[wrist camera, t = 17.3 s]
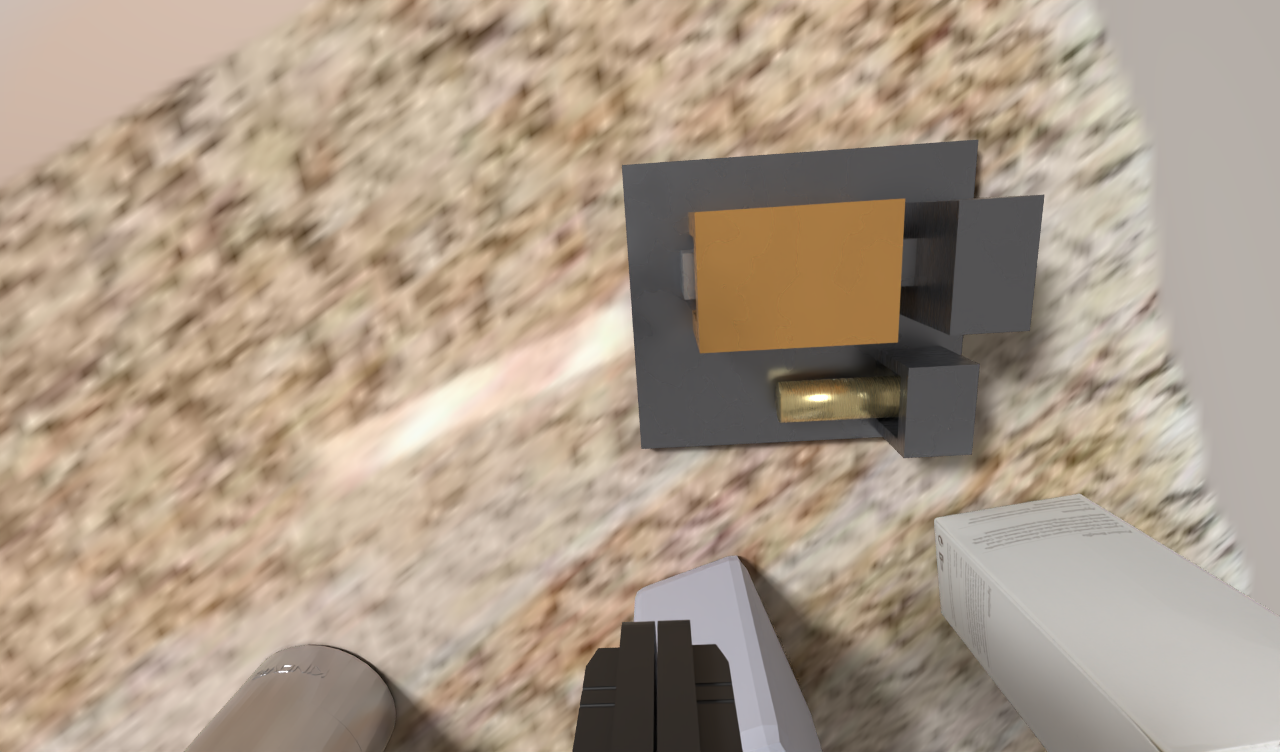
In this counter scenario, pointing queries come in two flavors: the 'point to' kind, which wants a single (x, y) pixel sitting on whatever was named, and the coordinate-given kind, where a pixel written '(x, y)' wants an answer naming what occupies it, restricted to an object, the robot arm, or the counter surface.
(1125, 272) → the counter surface
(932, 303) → the stand
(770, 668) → the soap bottle
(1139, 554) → the skincare box
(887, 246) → the block
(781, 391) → the pin
